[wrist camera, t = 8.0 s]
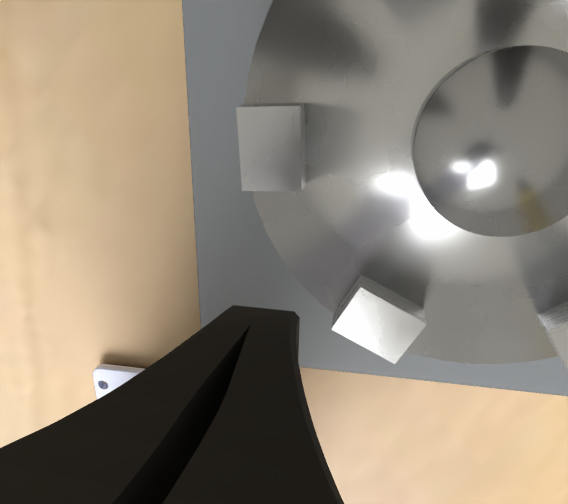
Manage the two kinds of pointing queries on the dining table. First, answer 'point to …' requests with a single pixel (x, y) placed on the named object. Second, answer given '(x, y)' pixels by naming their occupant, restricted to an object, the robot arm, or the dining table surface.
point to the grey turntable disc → (418, 170)
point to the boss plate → (251, 232)
